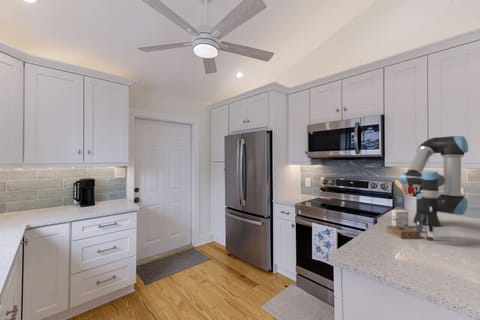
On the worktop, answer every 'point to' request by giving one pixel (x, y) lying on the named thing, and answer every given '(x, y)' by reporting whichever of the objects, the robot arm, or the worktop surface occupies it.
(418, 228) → the short pin
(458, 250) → the worktop surface
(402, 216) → the ink box
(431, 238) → the long pin
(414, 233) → the hole block
